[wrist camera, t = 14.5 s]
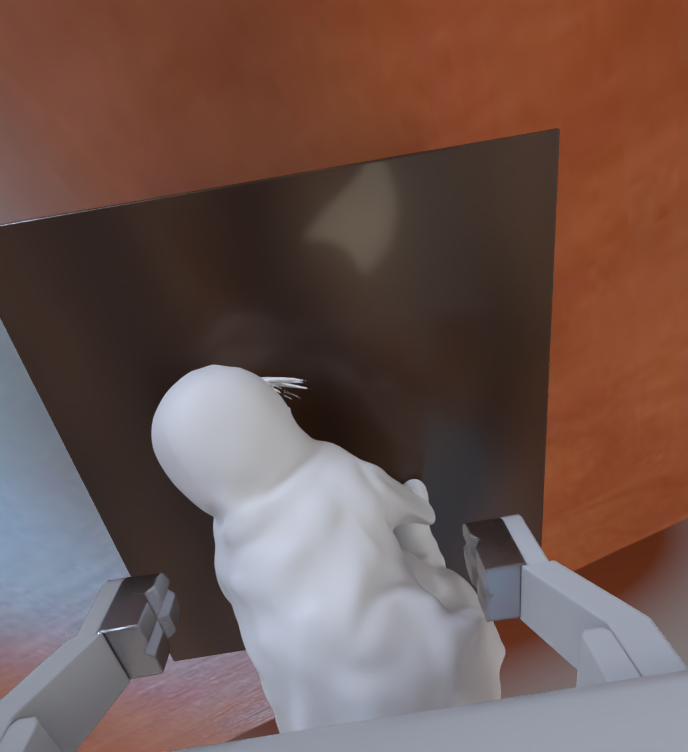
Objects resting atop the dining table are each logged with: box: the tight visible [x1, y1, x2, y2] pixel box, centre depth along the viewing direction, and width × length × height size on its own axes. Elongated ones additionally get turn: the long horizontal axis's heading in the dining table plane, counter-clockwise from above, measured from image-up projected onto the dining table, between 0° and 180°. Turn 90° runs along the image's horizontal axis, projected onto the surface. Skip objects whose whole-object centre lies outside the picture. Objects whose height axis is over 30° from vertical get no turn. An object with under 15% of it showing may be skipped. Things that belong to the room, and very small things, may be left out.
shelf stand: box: [0, 129, 560, 661], centre depth 23 cm, size 17×19×15 cm
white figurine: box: [151, 365, 505, 734], centre depth 13 cm, size 6×8×12 cm
